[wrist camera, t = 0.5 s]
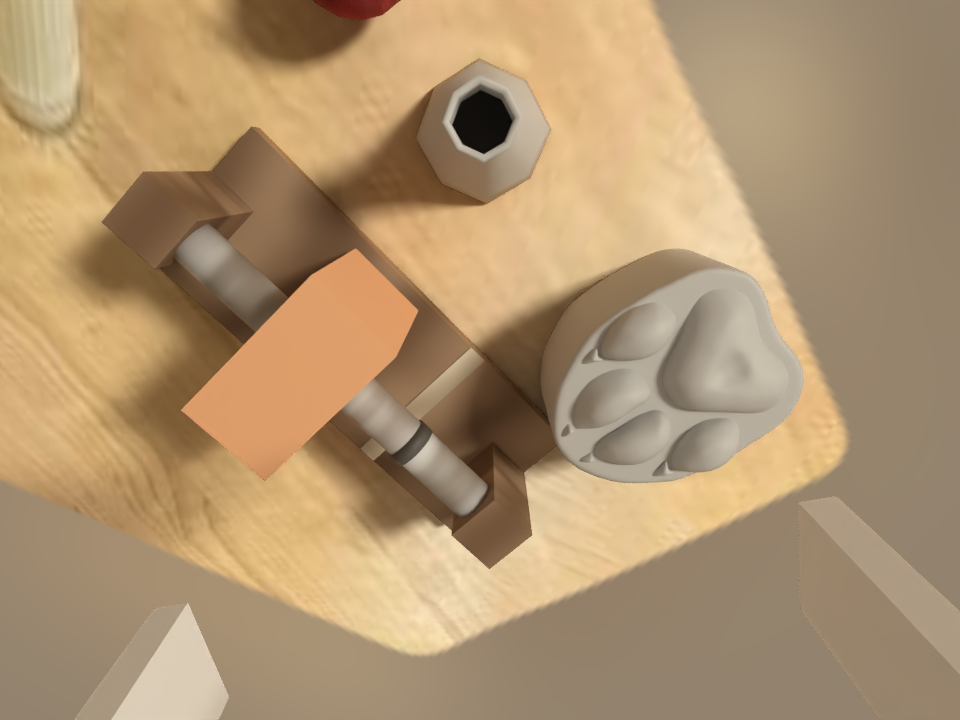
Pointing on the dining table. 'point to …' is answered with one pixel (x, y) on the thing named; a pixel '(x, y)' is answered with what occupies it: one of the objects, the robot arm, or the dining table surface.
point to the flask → (483, 131)
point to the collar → (304, 363)
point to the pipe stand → (400, 385)
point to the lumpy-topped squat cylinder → (666, 370)
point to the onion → (357, 7)
